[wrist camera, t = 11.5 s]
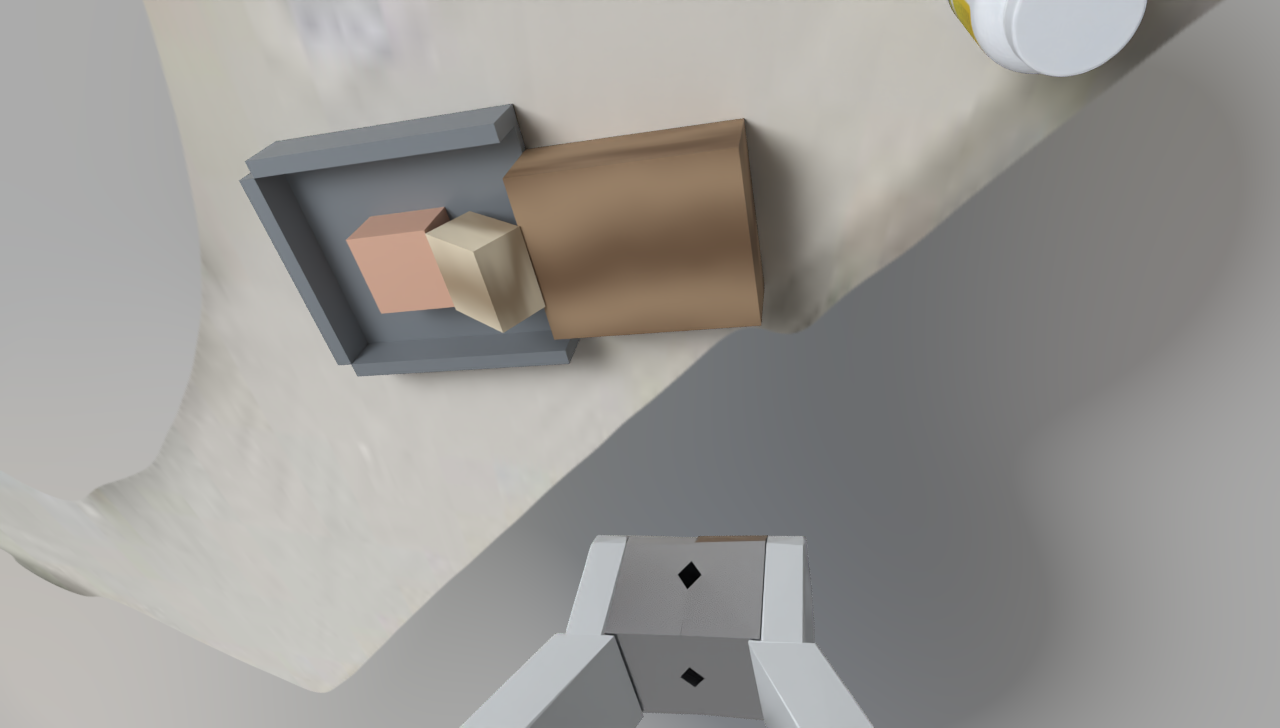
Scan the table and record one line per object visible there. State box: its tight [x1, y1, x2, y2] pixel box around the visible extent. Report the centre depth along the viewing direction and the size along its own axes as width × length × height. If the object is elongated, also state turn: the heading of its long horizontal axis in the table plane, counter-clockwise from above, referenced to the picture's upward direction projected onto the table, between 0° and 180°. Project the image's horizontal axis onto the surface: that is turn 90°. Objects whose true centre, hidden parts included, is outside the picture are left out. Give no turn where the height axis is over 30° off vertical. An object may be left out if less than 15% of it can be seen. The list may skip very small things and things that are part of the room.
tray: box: [239, 104, 580, 376], centre depth 45 cm, size 15×16×3 cm
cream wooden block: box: [425, 211, 545, 333], centre depth 41 cm, size 5×5×3 cm
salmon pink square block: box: [346, 207, 455, 314], centre depth 44 cm, size 5×5×3 cm
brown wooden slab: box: [502, 118, 764, 340], centre depth 41 cm, size 10×12×4 cm
